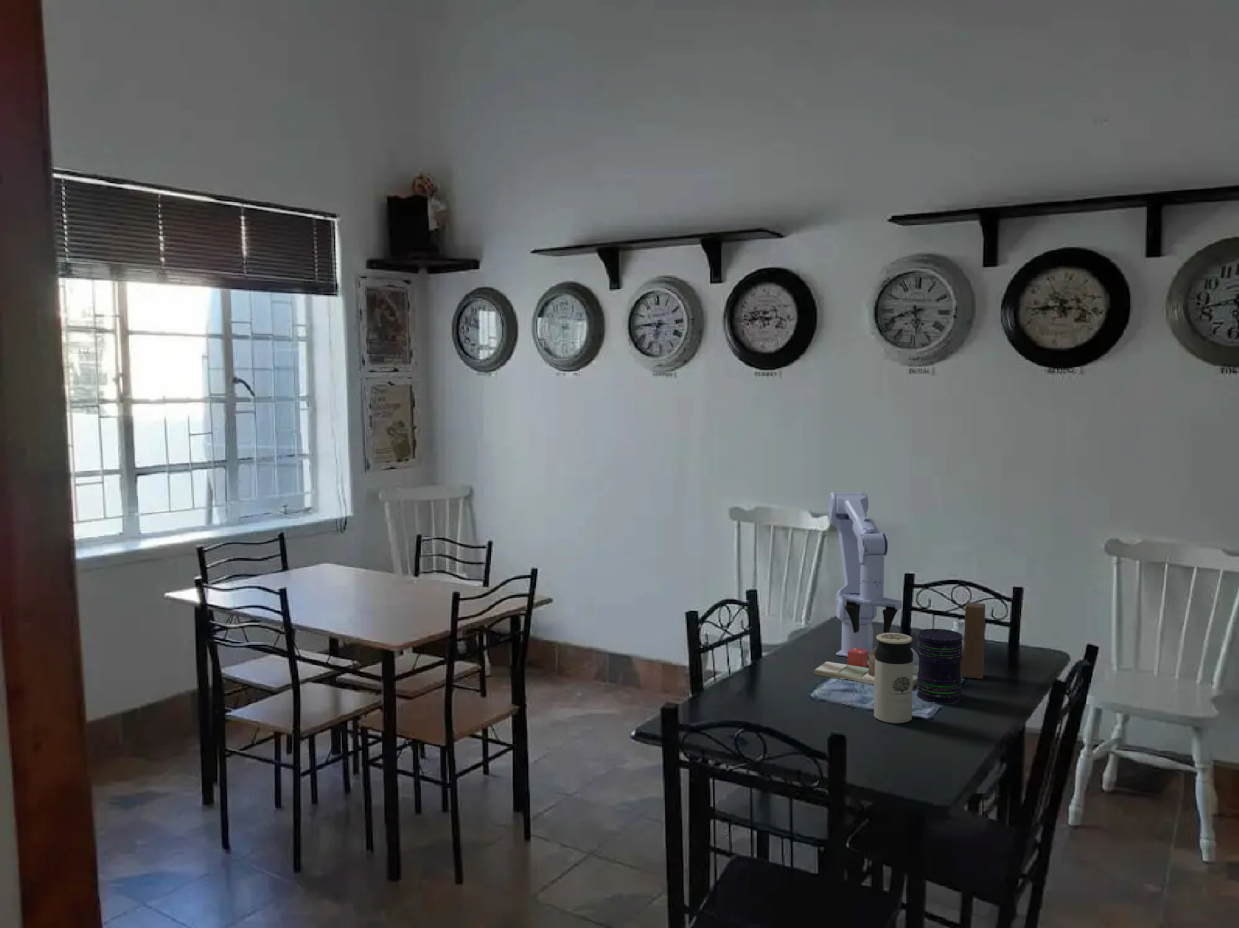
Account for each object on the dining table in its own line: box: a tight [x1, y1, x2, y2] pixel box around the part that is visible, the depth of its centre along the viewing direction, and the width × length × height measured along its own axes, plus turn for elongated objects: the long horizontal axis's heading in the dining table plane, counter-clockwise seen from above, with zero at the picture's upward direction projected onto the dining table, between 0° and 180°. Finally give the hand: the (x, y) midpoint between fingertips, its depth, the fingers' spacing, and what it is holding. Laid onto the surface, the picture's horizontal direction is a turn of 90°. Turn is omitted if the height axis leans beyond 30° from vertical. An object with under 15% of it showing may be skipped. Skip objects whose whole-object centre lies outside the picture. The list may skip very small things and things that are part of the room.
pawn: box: [868, 646, 877, 677], centre depth 243 cm, size 4×4×7 cm
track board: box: [813, 661, 918, 689], centre depth 245 cm, size 9×24×1 cm, turn 58°
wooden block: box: [960, 602, 986, 680], centre depth 245 cm, size 9×4×18 cm, turn 68°
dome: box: [910, 647, 919, 666], centre depth 249 cm, size 7×7×5 cm
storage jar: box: [916, 628, 963, 705], centre depth 229 cm, size 10×10×15 cm
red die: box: [846, 648, 869, 668], centre depth 254 cm, size 4×4×4 cm
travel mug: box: [873, 632, 913, 724], centre depth 215 cm, size 8×8×18 cm
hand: (871, 634), depth 249 cm, fingers open, 7 cm apart
